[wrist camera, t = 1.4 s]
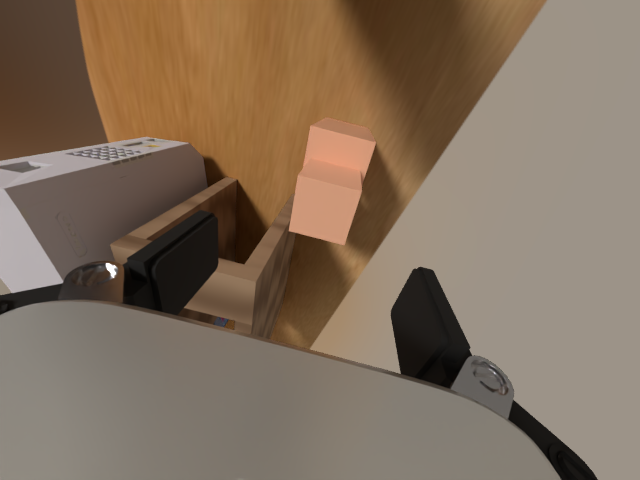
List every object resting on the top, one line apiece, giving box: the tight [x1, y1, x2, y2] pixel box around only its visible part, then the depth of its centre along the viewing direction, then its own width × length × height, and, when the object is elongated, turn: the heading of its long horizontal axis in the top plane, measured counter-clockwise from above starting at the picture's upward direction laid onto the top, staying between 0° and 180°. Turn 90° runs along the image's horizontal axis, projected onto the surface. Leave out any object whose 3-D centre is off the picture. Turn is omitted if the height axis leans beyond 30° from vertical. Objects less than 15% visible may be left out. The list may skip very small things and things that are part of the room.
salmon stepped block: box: [289, 117, 376, 245], centre depth 22 cm, size 8×5×16 cm, turn 167°
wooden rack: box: [110, 177, 296, 339], centre depth 30 cm, size 22×11×19 cm, turn 168°
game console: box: [0, 137, 208, 293], centre depth 29 cm, size 6×27×20 cm, turn 174°
